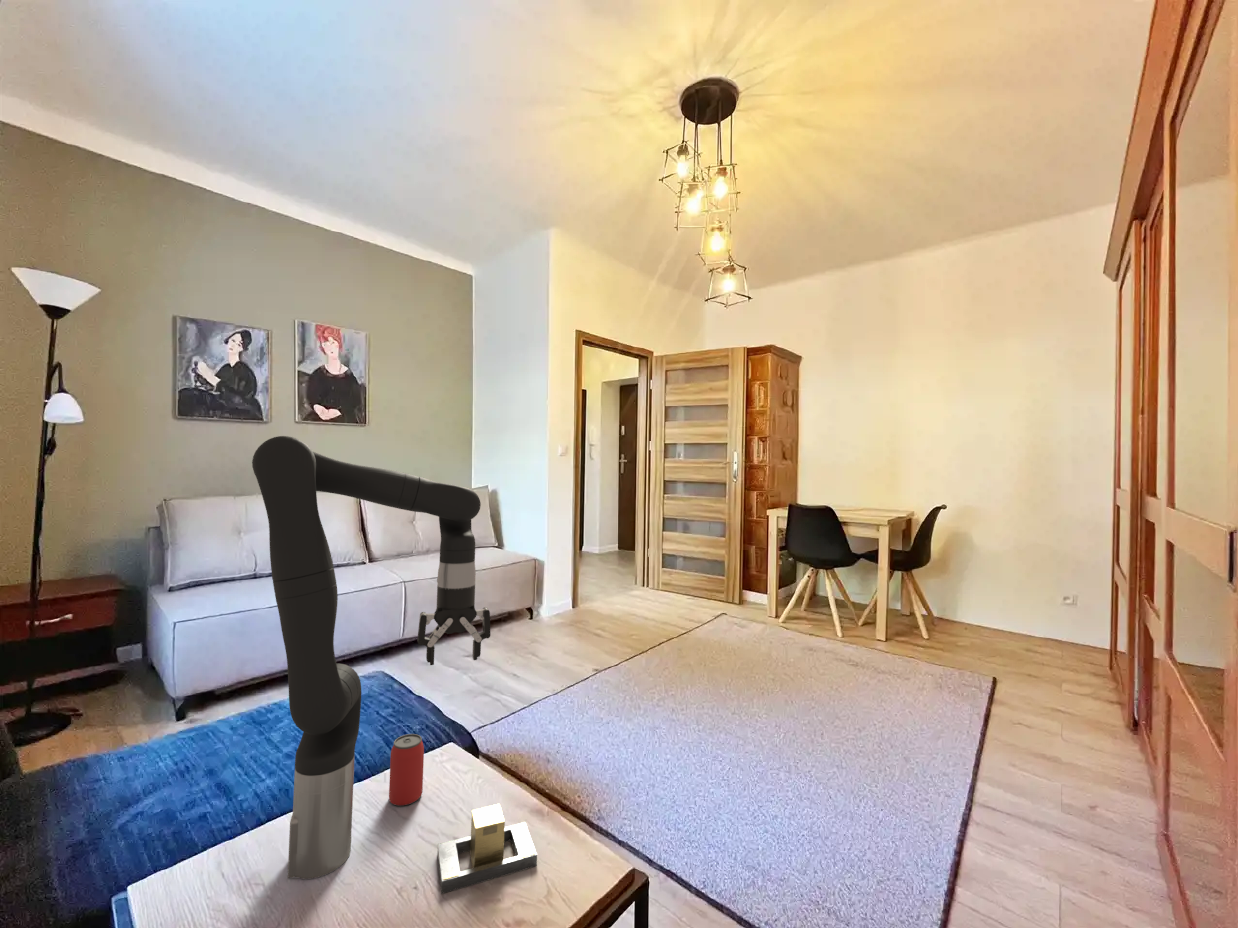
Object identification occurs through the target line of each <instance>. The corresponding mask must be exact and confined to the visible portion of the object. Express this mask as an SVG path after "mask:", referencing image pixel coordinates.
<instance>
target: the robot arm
mask: <svg viewBox="0 0 1238 928" xmlns="http://www.w3.org/2000/svg"><path fill="white" fill-rule="evenodd" d="M251 464H252V465H251V466H252V471H253V474H254V475H255V478H256V481H257V484H258V487H259V490H260V493H261V496H262V500H263V503H264V507H265V511H266V516H267V520H268V532H269V533H268V535H269V558H270V559H269V560H270V572H271V578H272V584H273V585H272V586H273V591H274V596H275V602H276V606H277V607H276V608H277V610H278V614H279V615H278V616H279V623H280V627H281V633H282V639H283V643H284V650H285V655H286V663H287V679H288V680H287V681H288V705H289V711H290V716H291V719H292V721H293V723H294V724H295V726H296V727H297V728H298V729H299V730H300V731H301V732H302V736H301V737H300V738H301V739H300V741H299V744H298V747H297V748H296V749H297V750H296V752H295V758H294V761H295V762H294V775H293V776H294V778H293V779H294V780H293V783H294V784H293V800H292V801H293V802H292V805H293V806H292V814H291V817H290V821H289V837H288V838H289V839H288V842H289V843H288V860H287V861H288V863H287V879H292V878H298V879H302V880H303V879H304V880H310V879H316V878H320V877H323V876H325V875H328V874H331V873H332V872H334V871H335V870H337V869H338V868H340V867H341V866H342V865H343V864H344V863H346V862H347V860H348V858H349V856H350V855H351V851H352V849H351V847H352V823H353V801H354V780H355V779H354V778H355V777H354V775H355V756H356V755H355V752H356V744H357V740H358V736H359V731H360V722H361V721H360V720H361V710H362V709H361V707H362V683H361V679H360V676H359V674H358V673H357V672H356V671H355V669H353V668H352V667H351V666H350V665H348V664H344V663H337V661H336V659H337V658H336V655H335V647H334V646H335V645H334V642H335V638H334V636H335V628H336V621H337V613H338V599H339V598H338V597H339V596H338V584H337V579H336V573H335V568H334V562H333V561H334V560H333V558H332V553H331V550H330V546H329V543H328V540H327V536H326V534H325V533H326V532H325V530H324V526H323V525H322V520H321V518H320V512H319V507H318V497H317V492H322V493H328V494H329V493H330V494H335V495H341V496H346V497H350V498H354V499H358V500H362V501H366V502H370V503H372V504H378V505H381V506H385V507H389V508H395V509H399V510H404V511H410V512H414V513H424V514H428V515H432V516H436V517H438V521H439V532H440V545H439V565H438V571H437V578H436V582H437V583H436V585H437V586H436V589H437V590H436V591H437V592H436V609H435V611H434V613H430V612H428V613H426V611H421V612H420V614H419V622H418V630H417V644H418V645H419V646H422V645H423V646H425V647H426V655H425V657H426V661H427V662H426V663H429V666H434V665H435V648H436V647H435V644H436V643H437V642H438V641H439V639H440V638H441V637H442V636H443V635H444V634H447V635H452V634H454V633H457V634H458V633H460V634H461V633H464V632H465V631H467V632H468V634H470V636H471V637H472V638H473V640H472V656H471V657H472V660H473V661H477V660H478V658H480V657H481V655H482V654H481V652H482V651H481V649H482V642H483V641H484V640H485V639H489V638H491V612H490V610H489V608H488V607H486V606H485V607H483V608H480V609H476V607H475V603H476V602H475V601H476V600H475V597H476V596H475V595H476V574H477V573H476V572H477V570H476V561H475V560H476V538H475V535H474V533H473V531H472V520H473V519H474V518H475V517H476V516H477V515H478V514H479V512H480V510H481V505H482V504H481V499H480V496H479V495H478V494H477V493H476V492H475V491H474V490H473V489H471V488H468V487H464V486H459V485H455V484H449V483H442V482H437V481H433V480H431V479H428V478H425V477H422V476H418V475H414V474H409V473H406V472H401V471H397V470H392V469H387V468H380V467H374V466H367V465H365V466H364V465H359V464H356V463H355V464H354V463H351V462H350V463H349V462H345V461H341V460H339V459H334V458H331V457H328V456H326V455H323V454H321V453H318V452H315V451H314V450H313V449H312V448H310V445H308V444H307V443H305V442H304V441H303V440H301V439H298V438H296V437H293V436H288V435H280V436H279V435H277V436H273V437H271V438H269V439H267V440H265V441H263V442H262V443H261V444H260V445H259V446H258V447H257V449H256V450H255V452H254V454H253V455H252V461H251ZM477 616H478V617H479V620H481V621H482V631H480V632H478V631H477V629H476V627H475V626H474V625H473V624H472V623H473V622H474V620H476V618H477ZM432 620H434V621H435V623H436V624H437V626H436V627H435V628H434V629H433V631H432V633H431V634H430V635H429V636H427V637H426V631H427V630H426V628H427V626H428V625H430V623H431V622H432Z"/></svg>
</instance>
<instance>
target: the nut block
mask: <svg viewBox="0 0 1238 928" xmlns="http://www.w3.org/2000/svg"><path fill="white" fill-rule="evenodd" d="M470 819H471V822H470V823H471V825H470V836H471V847H470V851H469V852H470V853H469V854H470V862H471V865H472V866H471V867H472V868H475V867H479V866H482V865H486V864H489V863H493V862H497V861H500V860H504V859H505V858H504V854H505V850H504V849H505V842H504V829H505V827H506V823H505V822H506V820H505V817H504V815H503V810H502V807H501V804H500V803H497V804H493V805H488V806H483V807H481V808H480V807H479V808H476V809H472V810H471V818H470Z"/></svg>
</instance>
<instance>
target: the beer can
mask: <svg viewBox="0 0 1238 928" xmlns="http://www.w3.org/2000/svg"><path fill="white" fill-rule="evenodd" d="M424 752H425V747H424V742H423V738H422V736H421V735H419V734H417V733H416V734H415V733H408V734H403V735H401V736H399V737H397V738H396V739H395V740H394V741H393V746H392V747H391V750H390V761H389V764H390V765H389V766H390V767H389V785H388V786H389V788H388V789H389V790H388V801H389V802H390V803H391V804H392V805H395V806H399V807H400V806H401V807H402V806H404V807H405V806H408V805H411V804H413V803H414V802H417V801H418V800H419V799H420V797H422V795H423V787H424V786H423V784H424V763H425V762H424V759H425V757H424V756H425V753H424Z"/></svg>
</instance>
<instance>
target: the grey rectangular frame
mask: <svg viewBox="0 0 1238 928" xmlns="http://www.w3.org/2000/svg"><path fill="white" fill-rule="evenodd" d="M508 841H510V843H511V847H512V849H513V852H514V856H512V857H508V858H503V860H500V861H497V862H493V863H489V864H486V865H482V866H479V867H475V868H473V867H472V868H468V869H464V870H461V868H460V863H459V854H462V853H463V854H464V853H467V852H470V847H471V835H468V836H464V837H460V838H457V839H453V840H449V841H445V842H441V843H438V844H437V853H436V854H437V863H438V864H437V865H438V874H439V882H440V884H439V885H440V892H441V894H445V893H449V892H452V891H455V890H460V889H463V888H467V887H469V886H473V885H476V884H477V885H478V884H480V883H483V882H486V881H491V880H493V879H497V878H500V877H504V876H507V875H511V874H515V873H518V872H521V871H524V870H527V869H531V868H535V867H537V866H538V853H537V851H536V847H535V845H534V843H533V840H532V837H531V834H530V832H529V828H528V825H527V823H526V821H523V822H520V823H516V824H512V825H508V826H505V829H504V843H505V842H508Z"/></svg>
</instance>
